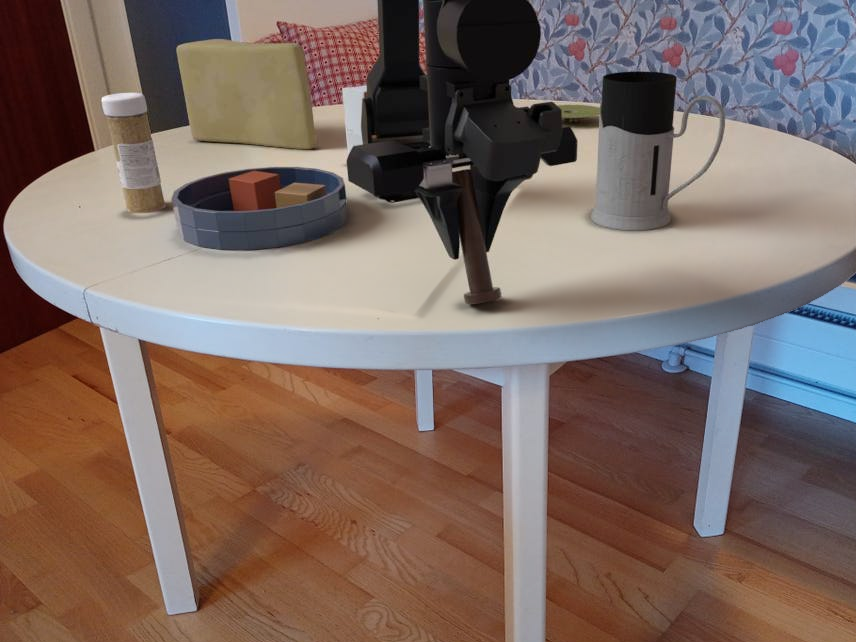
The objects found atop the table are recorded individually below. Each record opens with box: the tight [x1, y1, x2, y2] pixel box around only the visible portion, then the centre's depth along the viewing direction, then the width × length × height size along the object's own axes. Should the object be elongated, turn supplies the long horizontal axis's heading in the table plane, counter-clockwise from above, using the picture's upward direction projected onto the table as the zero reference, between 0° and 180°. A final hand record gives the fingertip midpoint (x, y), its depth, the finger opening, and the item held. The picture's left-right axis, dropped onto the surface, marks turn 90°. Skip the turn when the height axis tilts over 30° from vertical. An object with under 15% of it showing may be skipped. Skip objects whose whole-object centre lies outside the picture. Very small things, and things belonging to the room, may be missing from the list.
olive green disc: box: [556, 104, 600, 124], centre depth 138 cm, size 11×11×2 cm
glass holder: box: [590, 70, 726, 231], centre depth 86 cm, size 9×14×15 cm, turn 49°
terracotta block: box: [229, 171, 281, 211], centre depth 94 cm, size 4×4×4 cm
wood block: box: [275, 183, 327, 208], centre depth 89 cm, size 4×4×4 cm
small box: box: [341, 84, 377, 156], centre depth 114 cm, size 8×6×10 cm
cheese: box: [176, 38, 317, 150], centre depth 127 cm, size 22×10×15 cm, turn 59°
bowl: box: [170, 166, 349, 251], centre depth 90 cm, size 18×18×4 cm
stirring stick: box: [452, 168, 503, 305], centre depth 69 cm, size 3×3×11 cm
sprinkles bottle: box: [101, 92, 167, 214], centre depth 95 cm, size 5×5×14 cm
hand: (469, 254), depth 70 cm, fingers open, 3 cm apart
